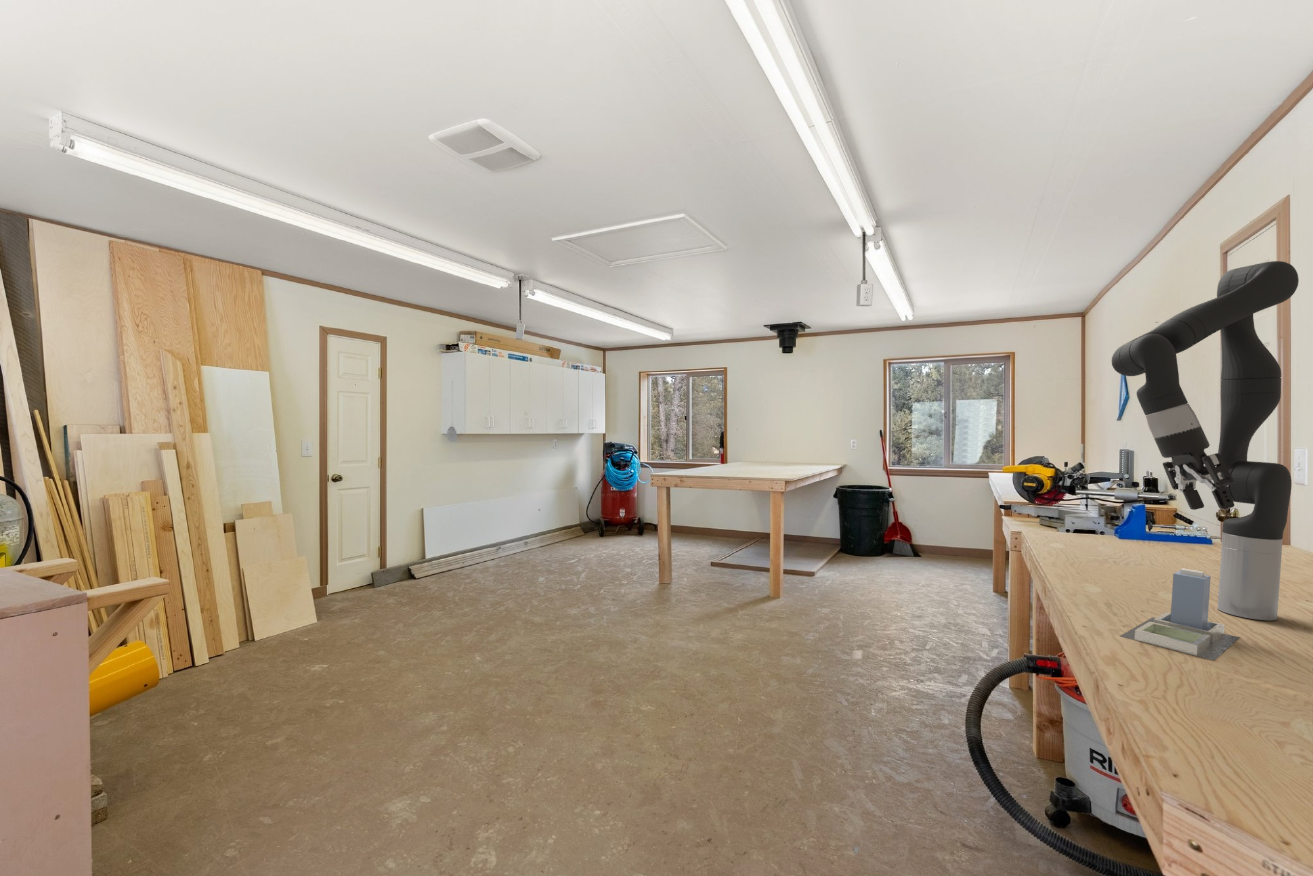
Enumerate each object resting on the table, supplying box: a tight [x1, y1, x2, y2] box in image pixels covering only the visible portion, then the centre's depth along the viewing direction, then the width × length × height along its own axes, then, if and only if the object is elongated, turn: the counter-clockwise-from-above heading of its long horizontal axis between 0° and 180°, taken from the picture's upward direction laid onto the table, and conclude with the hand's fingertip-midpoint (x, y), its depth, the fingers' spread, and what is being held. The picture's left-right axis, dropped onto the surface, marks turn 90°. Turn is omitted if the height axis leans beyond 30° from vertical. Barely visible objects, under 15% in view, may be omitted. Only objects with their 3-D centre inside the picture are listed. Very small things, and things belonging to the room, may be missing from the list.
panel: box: [1119, 611, 1241, 662], centre depth 111 cm, size 20×13×2 cm, turn 126°
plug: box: [1170, 567, 1211, 631], centre depth 114 cm, size 4×4×12 cm
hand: (1212, 508), depth 116 cm, fingers open, 8 cm apart
